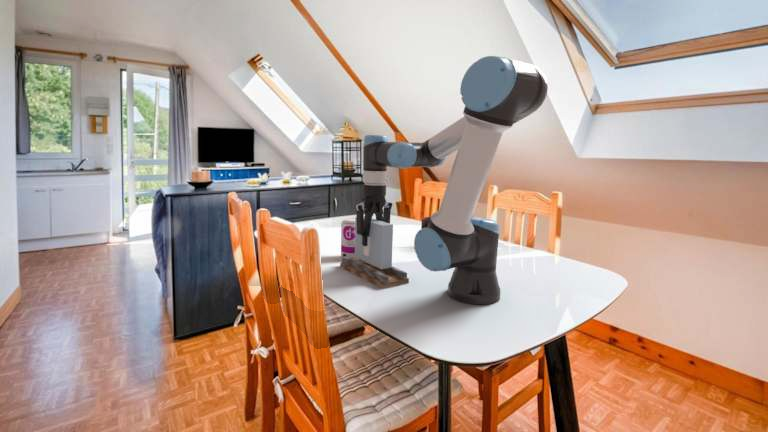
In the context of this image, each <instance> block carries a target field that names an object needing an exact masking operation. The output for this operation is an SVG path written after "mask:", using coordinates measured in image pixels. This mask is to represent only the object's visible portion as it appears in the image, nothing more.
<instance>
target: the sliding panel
mask: <svg viewBox="0 0 768 432" xmlns="http://www.w3.org/2000/svg"><path fill="white" fill-rule="evenodd" d="M364 217H365V215H364ZM354 218H355V257H356V258H358V259H360V260H363V261H365V262H367V263H369V264H371V265H373V266H375V267H378V268H380V269H386V268H391V267H393V266H392V265H393V264H392V263H393V262H392V261H393V241H394V239H393V238H394V237H393V236H394V235H393V233H394V232H393V231H394V224H393V223H391V222H390V223H386V222H383V221H379V220H376V218H373V217H372V220H371V225H370V230H369V235H368V236H370V256H366V255H364V246H363V245H362V235H359V234H357V217H356V216H355V217H354Z"/></svg>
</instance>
